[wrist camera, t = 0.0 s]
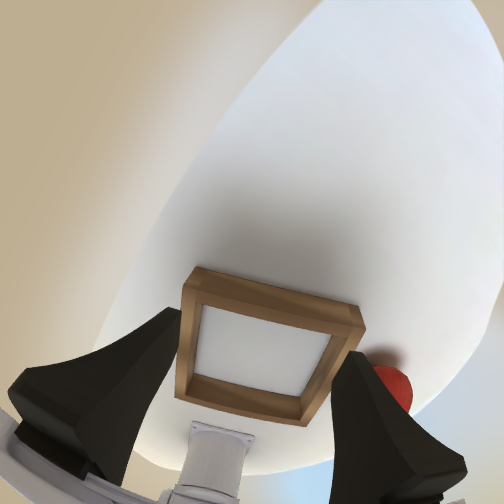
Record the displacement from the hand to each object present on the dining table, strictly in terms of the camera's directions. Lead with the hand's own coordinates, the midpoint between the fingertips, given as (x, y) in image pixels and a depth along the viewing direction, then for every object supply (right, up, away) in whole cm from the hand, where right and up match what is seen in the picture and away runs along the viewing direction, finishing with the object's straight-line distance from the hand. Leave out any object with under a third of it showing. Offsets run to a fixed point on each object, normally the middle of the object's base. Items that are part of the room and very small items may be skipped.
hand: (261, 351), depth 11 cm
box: (0, -4, +13) cm, 13 cm away
